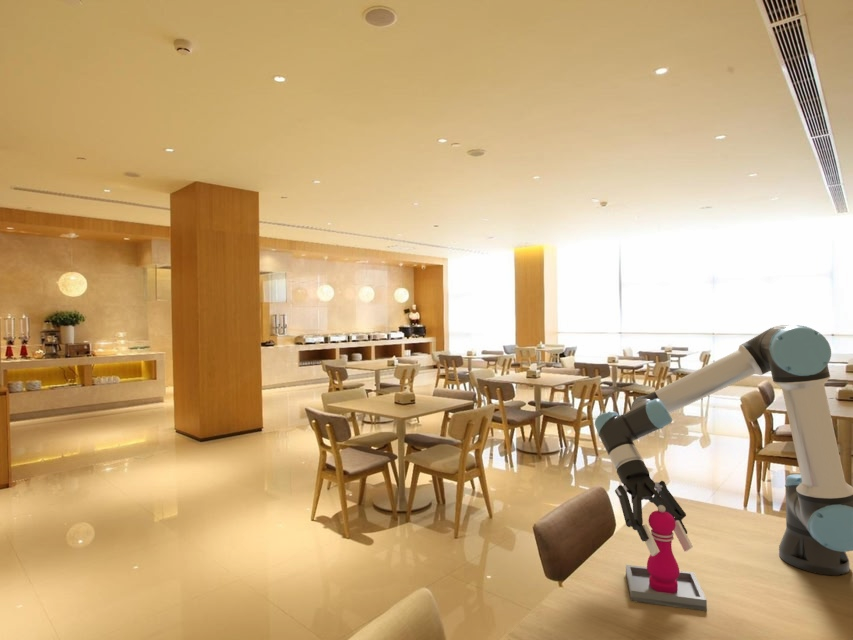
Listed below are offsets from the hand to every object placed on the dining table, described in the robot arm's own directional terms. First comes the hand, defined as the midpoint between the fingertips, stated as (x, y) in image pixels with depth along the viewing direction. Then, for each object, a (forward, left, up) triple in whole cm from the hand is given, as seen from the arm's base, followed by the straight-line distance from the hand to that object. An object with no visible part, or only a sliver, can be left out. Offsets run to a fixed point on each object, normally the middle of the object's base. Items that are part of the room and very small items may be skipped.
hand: (672, 551), depth 120 cm
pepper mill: (+2, -3, -10) cm, 11 cm away
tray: (+2, -3, -11) cm, 12 cm away
